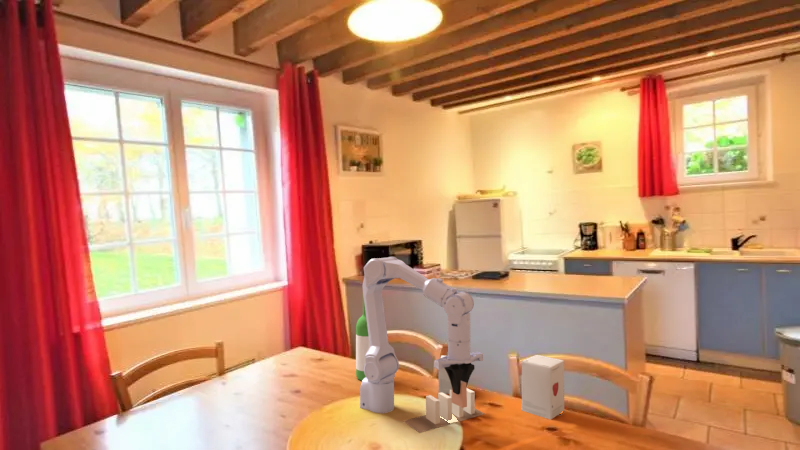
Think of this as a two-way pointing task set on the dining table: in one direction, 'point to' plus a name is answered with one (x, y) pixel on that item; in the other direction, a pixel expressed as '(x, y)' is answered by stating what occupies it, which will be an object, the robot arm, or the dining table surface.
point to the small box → (444, 381)
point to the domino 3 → (460, 396)
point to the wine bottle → (361, 344)
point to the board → (424, 424)
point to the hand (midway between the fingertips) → (459, 392)
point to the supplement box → (543, 386)
